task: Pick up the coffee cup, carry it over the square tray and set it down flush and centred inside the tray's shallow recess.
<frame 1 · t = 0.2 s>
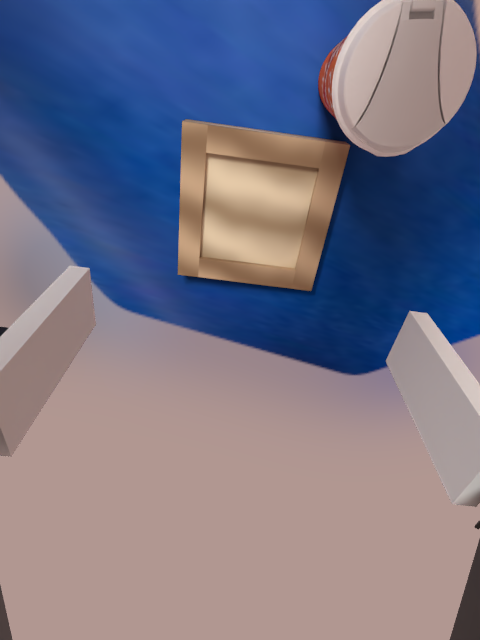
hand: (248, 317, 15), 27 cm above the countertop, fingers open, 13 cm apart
coffee cup: (350, 80, 33), on the countertop
square tray: (254, 210, 40), on the countertop
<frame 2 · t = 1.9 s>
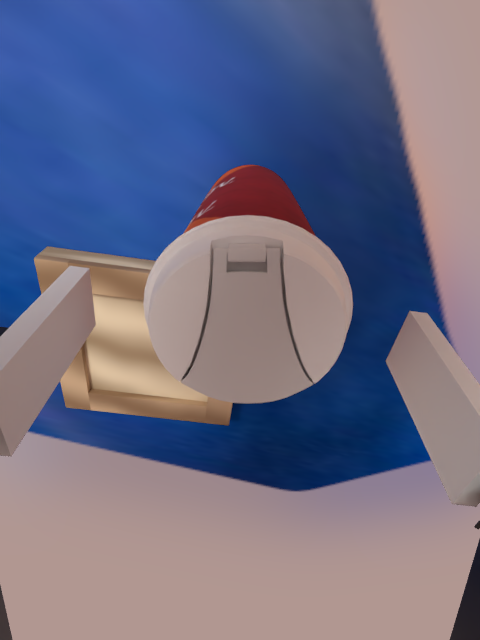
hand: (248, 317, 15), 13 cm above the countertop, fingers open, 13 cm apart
coffee cup: (250, 209, 26), on the countertop
square tray: (152, 340, 33), on the countertop
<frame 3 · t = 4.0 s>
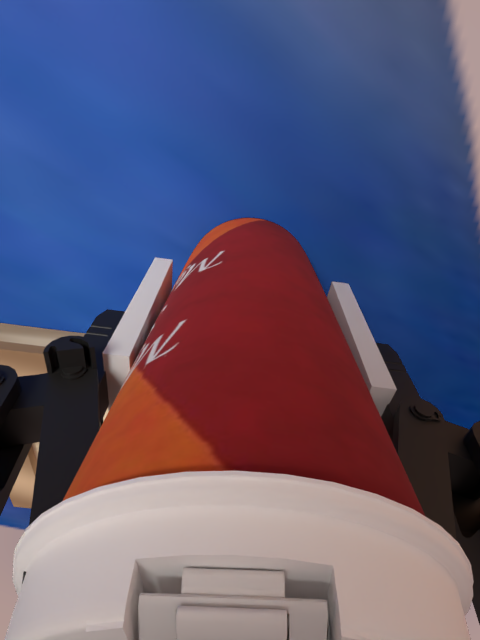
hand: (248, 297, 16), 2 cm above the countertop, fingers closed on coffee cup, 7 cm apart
coffee cup: (248, 274, 18), on the countertop, touching gripper
square tray: (122, 428, 25), on the countertop
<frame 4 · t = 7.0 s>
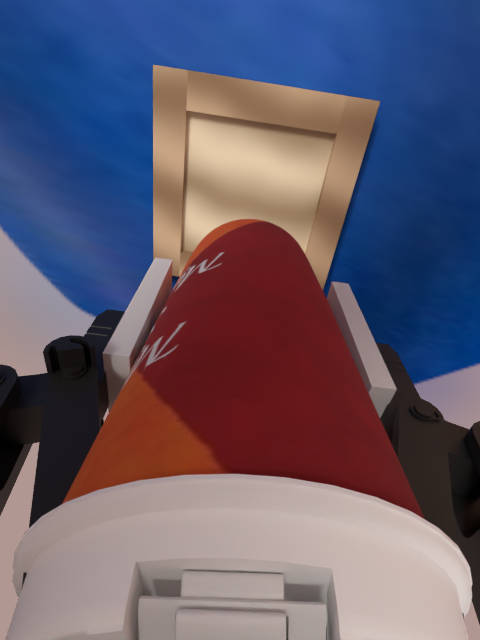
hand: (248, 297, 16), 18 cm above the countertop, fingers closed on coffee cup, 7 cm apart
coffee cup: (248, 275, 18), point 16 cm above the countertop, touching gripper
square tray: (251, 192, 31), on the countertop
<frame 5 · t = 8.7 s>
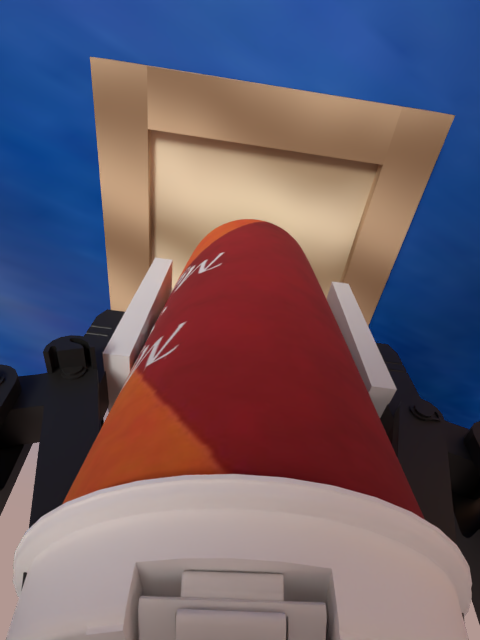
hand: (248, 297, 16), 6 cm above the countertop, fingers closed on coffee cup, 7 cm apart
coffee cup: (248, 275, 18), point 4 cm above the countertop, touching gripper
square tray: (250, 242, 22), on the countertop
when the fingers open (4 cm above the countertop, at t = 10.0 s): coffee cup stays where it is, resting on square tray.
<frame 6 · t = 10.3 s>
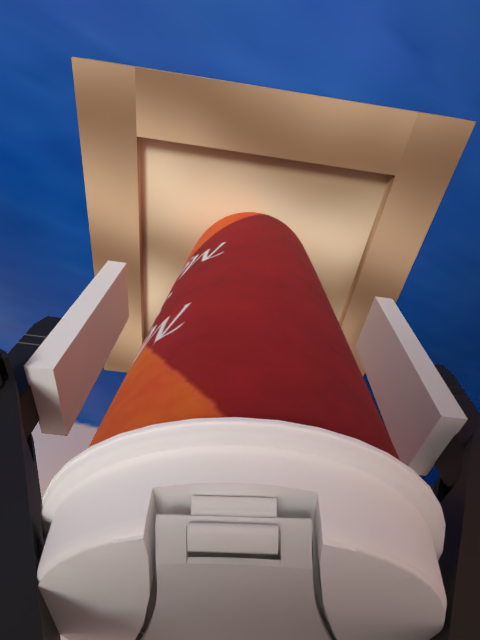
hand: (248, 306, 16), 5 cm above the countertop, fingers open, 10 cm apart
coffee cup: (249, 266, 19), point 1 cm above the countertop, touching square tray
square tray: (249, 256, 20), on the countertop
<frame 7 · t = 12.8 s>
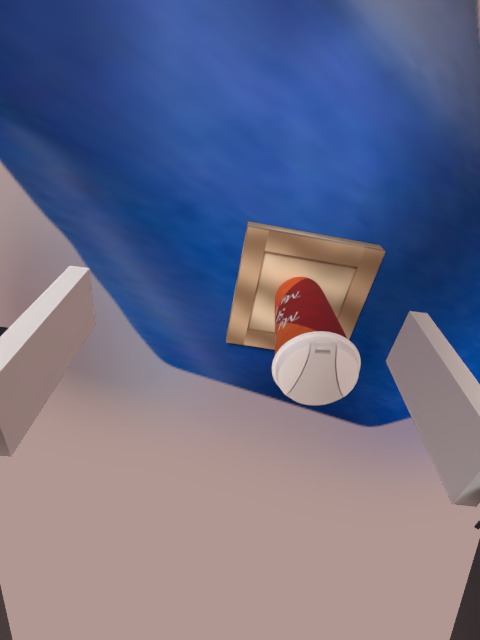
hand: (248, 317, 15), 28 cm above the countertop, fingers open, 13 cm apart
coffee cup: (298, 297, 45), point 1 cm above the countertop, touching square tray
square tray: (297, 292, 46), on the countertop
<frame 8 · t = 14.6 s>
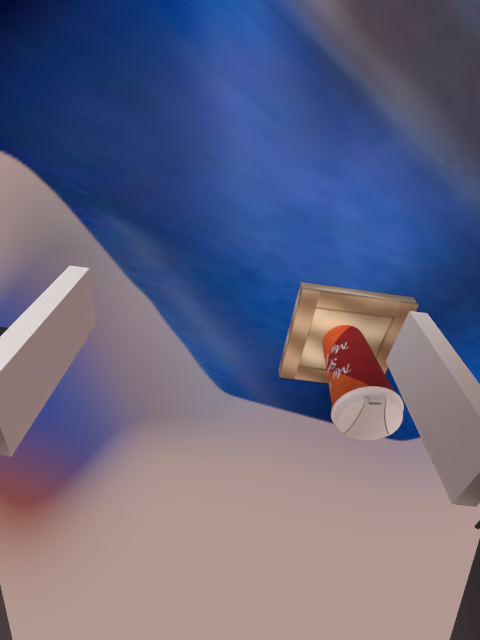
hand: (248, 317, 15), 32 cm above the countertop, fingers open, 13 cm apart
coffee cup: (342, 340, 53), point 1 cm above the countertop, touching square tray
square tray: (340, 335, 54), on the countertop
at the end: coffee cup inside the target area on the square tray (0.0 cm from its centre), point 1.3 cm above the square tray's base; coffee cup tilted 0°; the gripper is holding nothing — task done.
